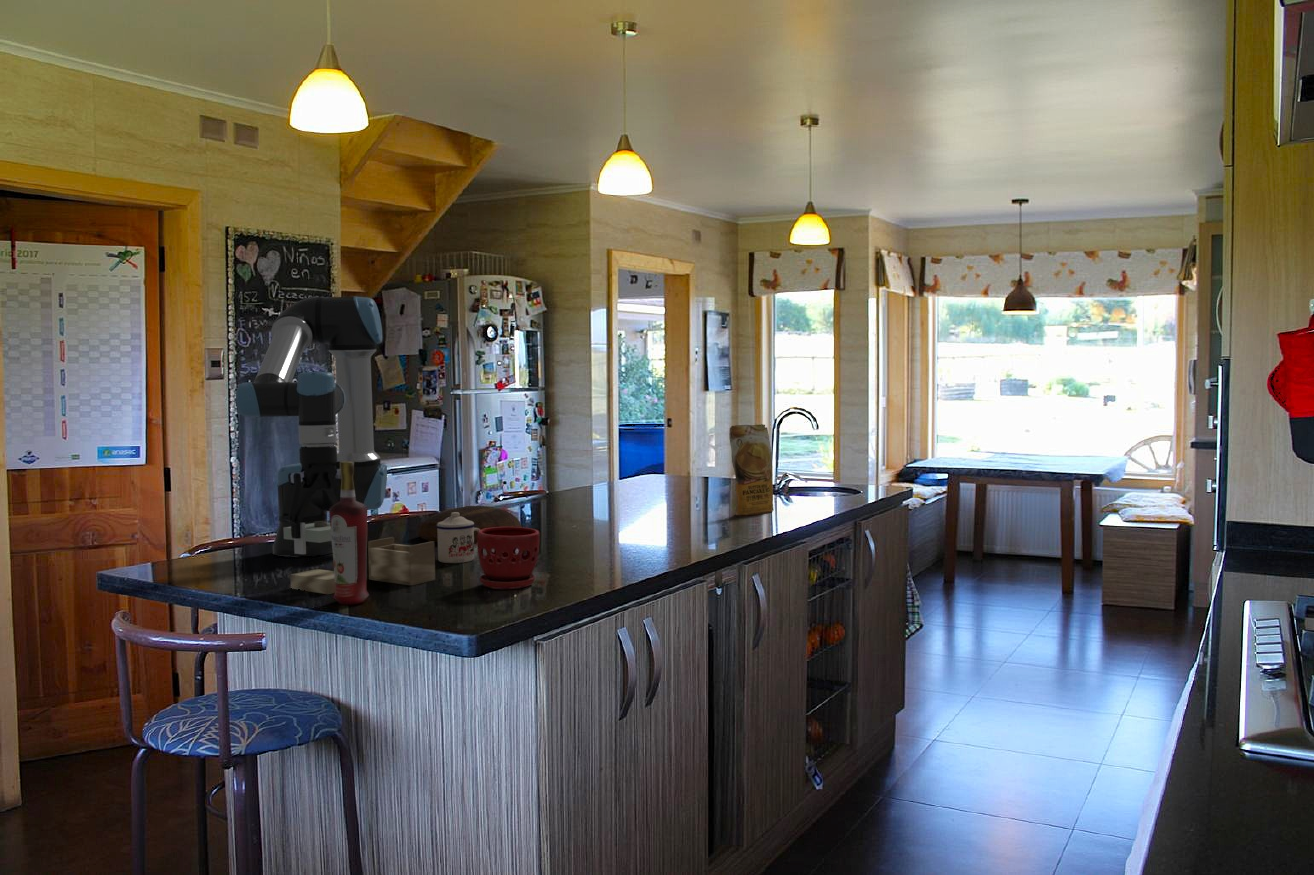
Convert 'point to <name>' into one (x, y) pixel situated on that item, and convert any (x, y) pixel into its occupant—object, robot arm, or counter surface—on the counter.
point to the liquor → (349, 541)
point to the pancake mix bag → (752, 468)
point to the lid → (313, 532)
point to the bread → (477, 514)
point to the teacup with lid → (456, 539)
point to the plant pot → (508, 556)
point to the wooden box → (401, 562)
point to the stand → (314, 581)
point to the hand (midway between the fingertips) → (321, 550)
